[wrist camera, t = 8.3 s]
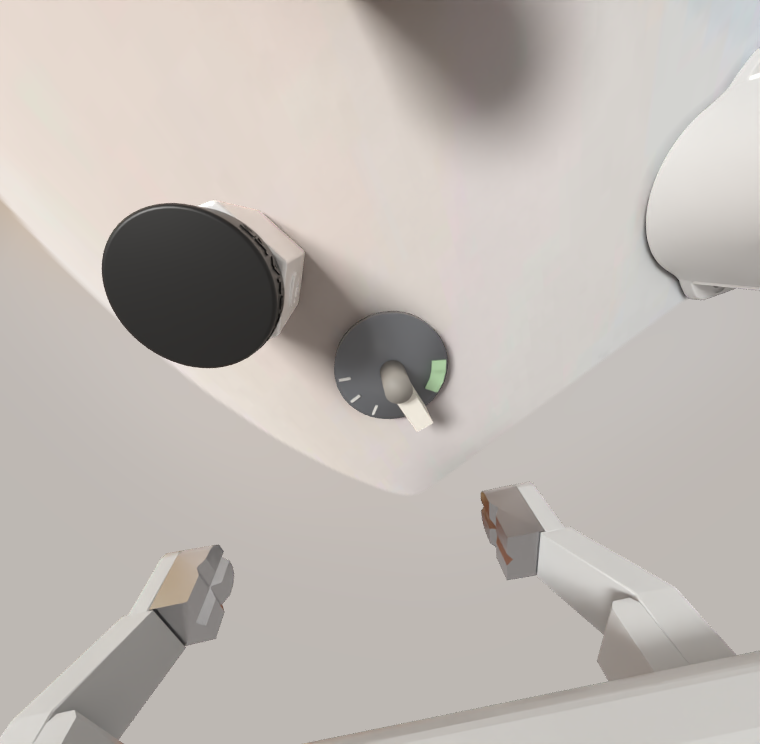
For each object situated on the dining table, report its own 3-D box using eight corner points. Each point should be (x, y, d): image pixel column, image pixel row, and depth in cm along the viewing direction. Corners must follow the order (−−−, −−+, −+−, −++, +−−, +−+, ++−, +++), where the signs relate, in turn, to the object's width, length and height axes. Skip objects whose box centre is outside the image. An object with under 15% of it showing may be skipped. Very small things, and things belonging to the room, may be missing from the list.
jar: (297, 327, 28) (269, 387, 18) (203, 309, 27) (109, 362, 16) (311, 223, 25) (287, 219, 14) (204, 196, 24) (87, 168, 13)
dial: (440, 301, 29) (444, 305, 28) (446, 402, 34) (450, 409, 32) (323, 322, 28) (322, 326, 27) (346, 420, 33) (346, 428, 32)
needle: (375, 368, 29) (379, 388, 26) (396, 355, 29) (404, 373, 25) (408, 416, 32) (416, 440, 28) (428, 404, 32) (439, 427, 28)
